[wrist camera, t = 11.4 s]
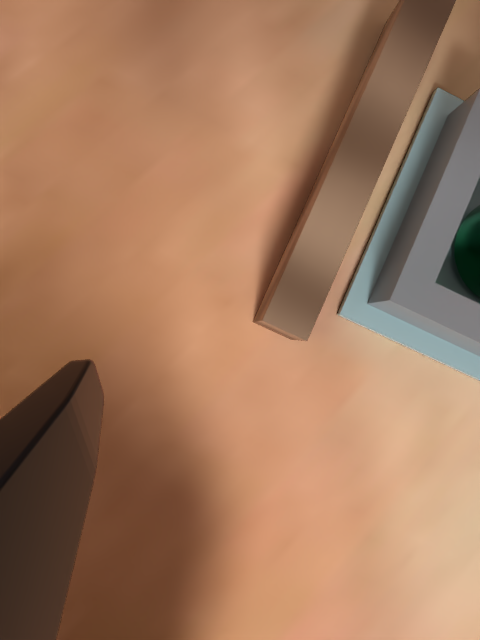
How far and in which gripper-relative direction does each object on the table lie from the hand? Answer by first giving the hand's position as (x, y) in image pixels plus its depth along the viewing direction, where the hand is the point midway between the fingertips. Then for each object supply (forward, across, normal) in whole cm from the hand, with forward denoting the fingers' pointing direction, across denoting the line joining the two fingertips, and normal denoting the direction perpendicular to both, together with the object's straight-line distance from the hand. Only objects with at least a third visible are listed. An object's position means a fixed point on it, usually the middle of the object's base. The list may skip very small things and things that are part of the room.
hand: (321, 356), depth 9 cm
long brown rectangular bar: (+14, -4, +1) cm, 15 cm away
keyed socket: (+13, -11, +5) cm, 18 cm away
